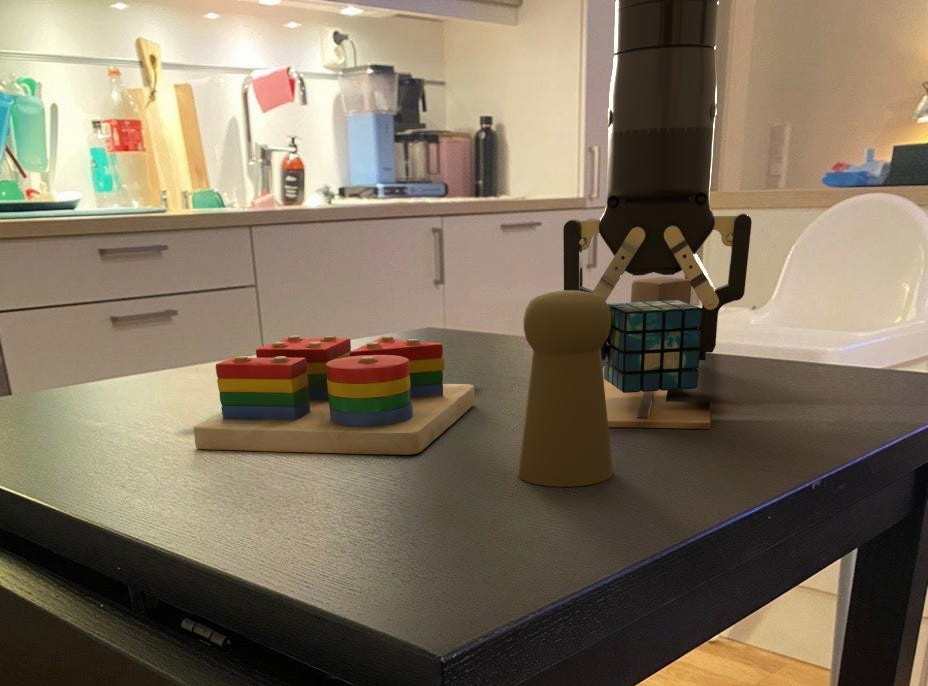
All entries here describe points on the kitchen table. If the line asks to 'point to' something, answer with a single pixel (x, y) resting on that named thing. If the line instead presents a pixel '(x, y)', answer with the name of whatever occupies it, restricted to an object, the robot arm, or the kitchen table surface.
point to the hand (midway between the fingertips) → (649, 358)
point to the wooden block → (661, 289)
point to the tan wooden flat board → (653, 410)
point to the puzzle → (653, 346)
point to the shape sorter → (334, 398)
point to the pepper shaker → (566, 391)
